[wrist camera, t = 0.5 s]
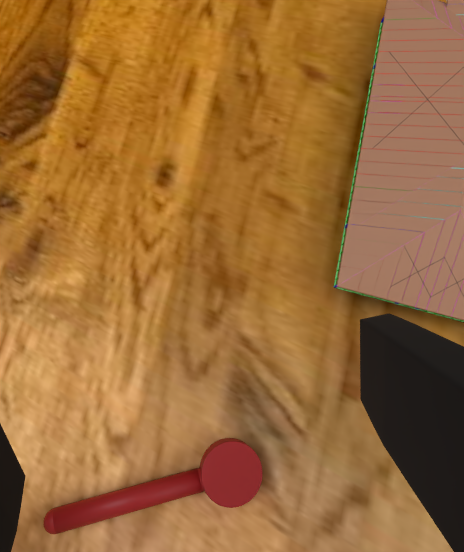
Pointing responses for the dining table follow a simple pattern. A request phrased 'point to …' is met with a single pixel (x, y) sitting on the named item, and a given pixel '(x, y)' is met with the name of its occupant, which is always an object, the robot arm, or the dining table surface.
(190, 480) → the spoon
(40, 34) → the dining table surface
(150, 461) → the dining table surface
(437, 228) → the house
